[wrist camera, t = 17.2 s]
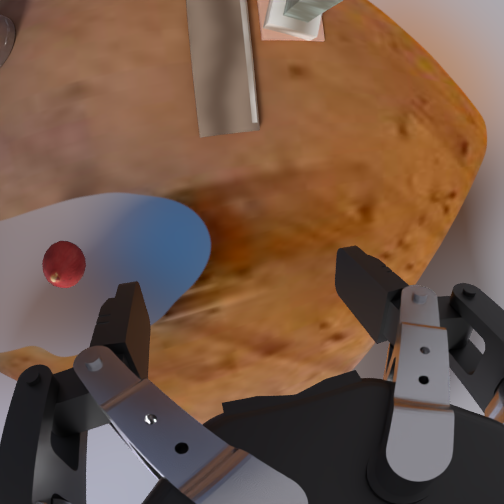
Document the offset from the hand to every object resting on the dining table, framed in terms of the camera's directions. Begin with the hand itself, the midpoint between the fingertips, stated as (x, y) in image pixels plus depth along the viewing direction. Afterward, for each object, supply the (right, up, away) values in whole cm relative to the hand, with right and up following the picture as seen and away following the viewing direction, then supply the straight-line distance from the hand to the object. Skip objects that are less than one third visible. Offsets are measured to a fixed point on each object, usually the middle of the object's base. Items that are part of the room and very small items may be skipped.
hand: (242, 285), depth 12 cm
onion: (-24, +1, +25) cm, 35 cm away
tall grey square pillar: (+5, +30, +17) cm, 35 cm away
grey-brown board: (-3, +25, +19) cm, 31 cm away
